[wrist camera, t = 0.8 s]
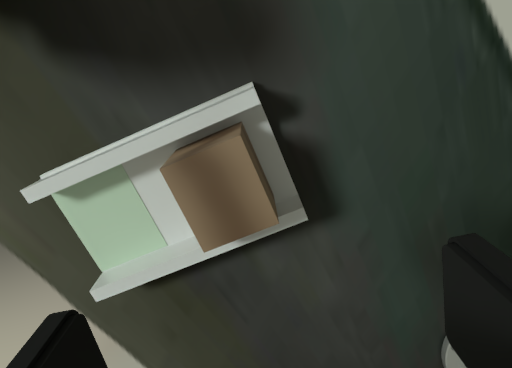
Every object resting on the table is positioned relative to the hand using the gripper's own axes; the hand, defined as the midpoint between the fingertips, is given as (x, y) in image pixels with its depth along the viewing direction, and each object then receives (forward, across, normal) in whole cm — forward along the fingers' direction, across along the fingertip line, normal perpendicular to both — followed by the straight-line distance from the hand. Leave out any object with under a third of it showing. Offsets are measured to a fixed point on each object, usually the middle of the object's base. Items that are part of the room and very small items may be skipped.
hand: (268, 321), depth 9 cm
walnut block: (+22, +3, +2) cm, 22 cm away
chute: (+23, +8, +3) cm, 24 cm away
